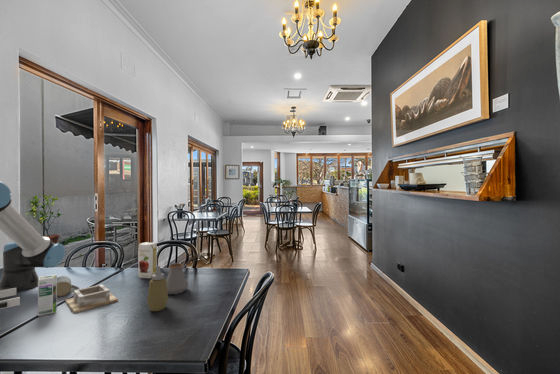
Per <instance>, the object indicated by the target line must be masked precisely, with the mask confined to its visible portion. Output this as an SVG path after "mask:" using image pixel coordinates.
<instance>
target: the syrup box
mask: <svg viewBox="0 0 560 374" xmlns="http://www.w3.org/2000/svg"><path fill="white" fill-rule="evenodd" d="M38 277H39V279H38V286H37V316H38V317H41V316H45V315H50V314H56V313H57V309H58V307H57V306H58V304H57V303H58V296H57V278H58V274H57V273H55V274H49V275H44V276H43V275H42V276H38Z"/></svg>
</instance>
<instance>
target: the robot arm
mask: <svg viewBox="0 0 560 374" xmlns="http://www.w3.org/2000/svg"><path fill="white" fill-rule="evenodd" d="M11 193H12V192H11V189H10V188H9V186H8V185H7V184H5V183H4V182H2V181H0V231H1V232H3V234H5V235H6V236H7V237H8V238H9V239H10V240H11V241H12V242H10V243H5V244H4V245H3V252H2V261H3V262H2V267H3V274H2V276H1V278H0V299H3V298H7V299H4V300H0V310H3V309H8V308H12V307H17V306H21V297H20V296H18V297H13V296H17V292H22V291H27V290H30V289H33V288H36V287H38V279H39V277H40V276H38V273H37V271H36V268H43V269H44V268H45V269H48V268H49V269H50V268H56V267H58V266H59V265H60V264H61V263H62V262H63V260H64V259H65V256H66V248H65V246H64V244H61V243H59V242H56V243H55V242H53V241H52V240H51V239H50V238H49V237H48V236H42V235H41V234H40V233H39V232H38V231H37V230H36V229H35V228H34V227H33V225H31V224H30V223H29V221H27V219H25V218H24V217H23V216H22V215H21V214H20V213H19V212H18V210H17V209H15V208H14V207H13V206H12V205H11V204H12V198H11V197H12V195H11ZM8 297H11V298H9V299H8Z"/></svg>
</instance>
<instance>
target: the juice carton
mask: <svg viewBox="0 0 560 374" xmlns="http://www.w3.org/2000/svg"><path fill="white" fill-rule="evenodd" d="M157 244H158V243H157V242H148V241H145V242H142V243H141V242H140V243H138V249H137V250H138V253H137V255H138V263H137V264H138V267H137V268H138V270H137V271H138V278H139V279H150V280H151V279H152V275H153V274H155V270H156V266H158V246H157Z"/></svg>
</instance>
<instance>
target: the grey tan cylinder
mask: <svg viewBox="0 0 560 374" xmlns="http://www.w3.org/2000/svg"><path fill="white" fill-rule="evenodd" d="M78 289H81V288H80V287H79V286H77V285H74V284H72V281H71V278H69V277H68V276H64V275H63V276H57V297H58V298H59V297H65V296H67V295H68V294H69V293H74V290H78Z"/></svg>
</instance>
